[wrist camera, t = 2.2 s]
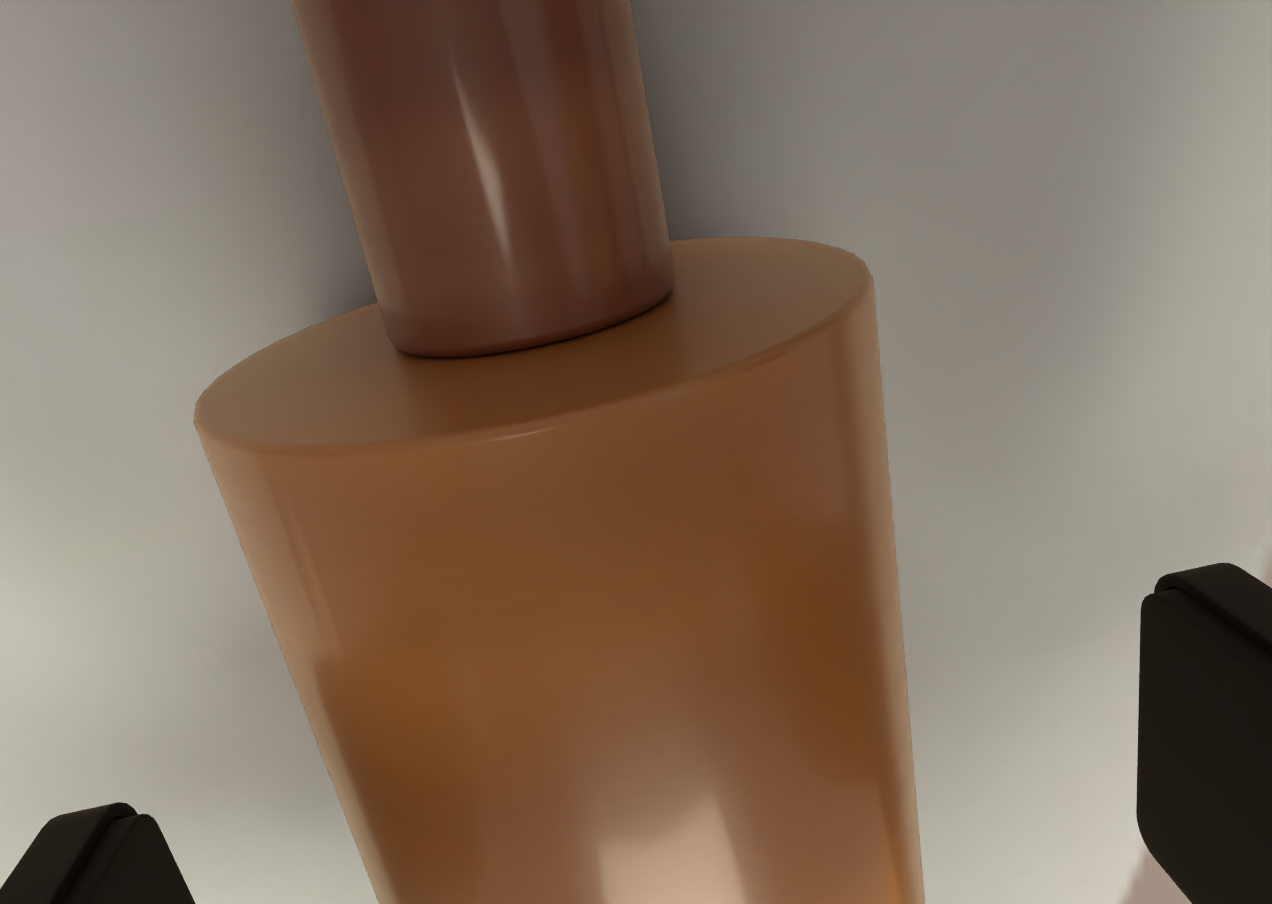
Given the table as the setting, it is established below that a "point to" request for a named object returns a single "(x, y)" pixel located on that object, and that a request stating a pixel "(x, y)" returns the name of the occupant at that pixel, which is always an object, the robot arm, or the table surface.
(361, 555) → the rolling pin
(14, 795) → the table surface
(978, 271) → the table surface
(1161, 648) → the robot arm
